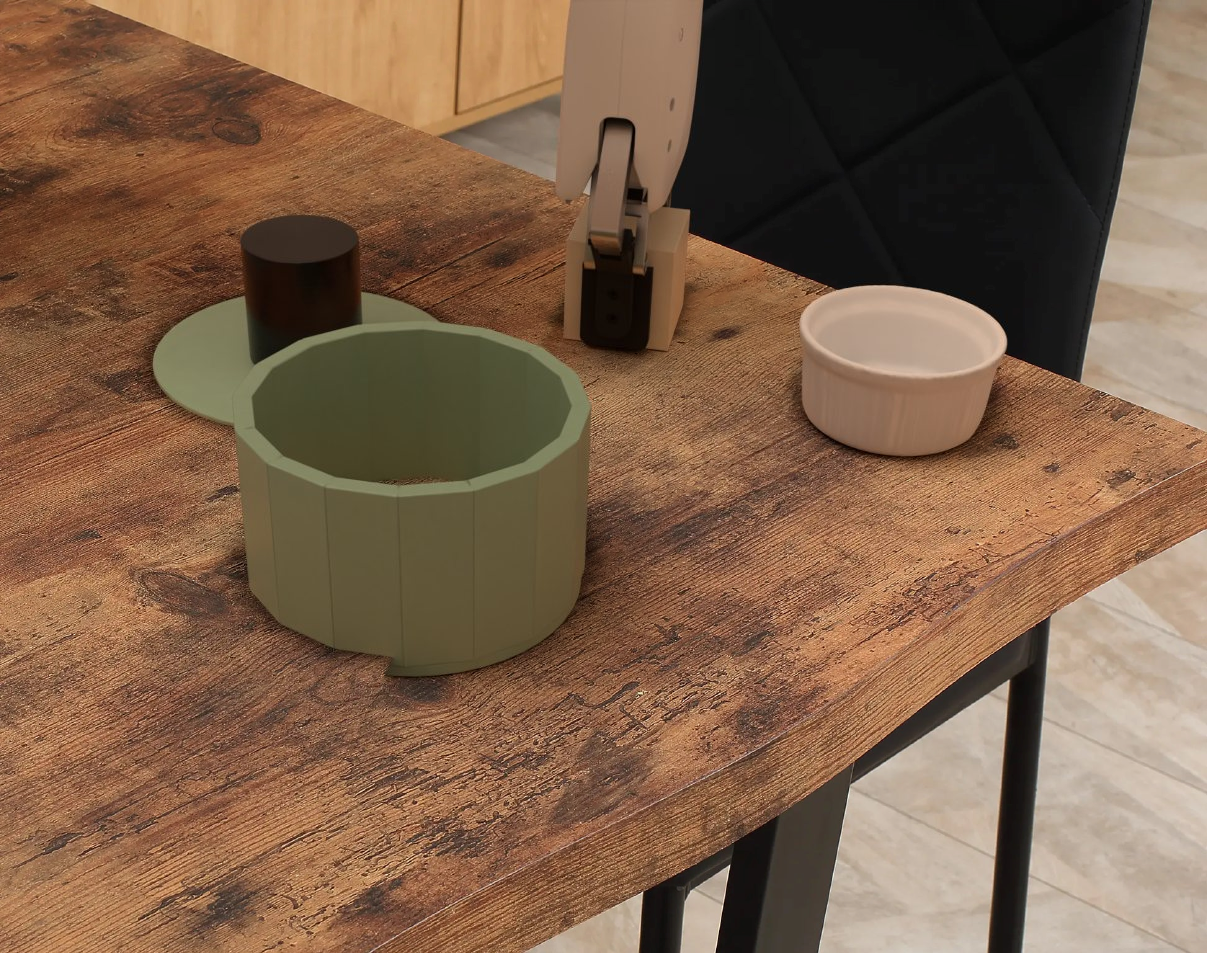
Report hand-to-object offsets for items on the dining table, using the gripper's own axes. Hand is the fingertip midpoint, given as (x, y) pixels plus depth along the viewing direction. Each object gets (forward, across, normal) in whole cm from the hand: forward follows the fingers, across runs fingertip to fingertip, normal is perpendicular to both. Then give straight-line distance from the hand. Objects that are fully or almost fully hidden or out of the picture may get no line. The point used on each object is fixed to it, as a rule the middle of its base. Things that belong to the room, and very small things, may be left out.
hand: (624, 313), depth 83 cm
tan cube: (0, 0, 0) cm, 0 cm away
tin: (0, +23, -4) cm, 23 cm away
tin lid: (0, +9, -13) cm, 16 cm away
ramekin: (+1, +6, +13) cm, 14 cm away
